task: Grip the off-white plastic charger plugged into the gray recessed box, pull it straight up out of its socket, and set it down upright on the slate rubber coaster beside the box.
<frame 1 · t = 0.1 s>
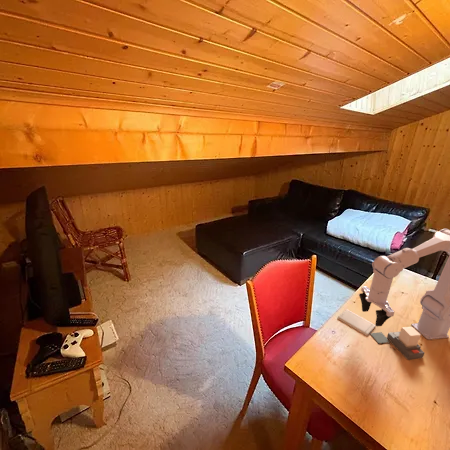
hand: (371, 318, 91), 10 cm above the table, fingers open, 7 cm apart
gray recessed box: (403, 347, 91), on the table
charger: (406, 343, 89), point 2 cm above the table, touching gray recessed box
hard drive: (355, 323, 103), on the table
coaster: (379, 338, 95), on the table
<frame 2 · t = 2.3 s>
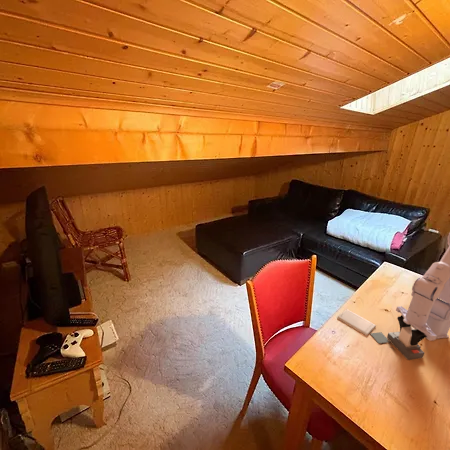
hand: (408, 339, 89), 4 cm above the table, fingers closed on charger, 4 cm apart
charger: (406, 343, 89), point 2 cm above the table, touching gripper, gray recessed box
everything else where it was.
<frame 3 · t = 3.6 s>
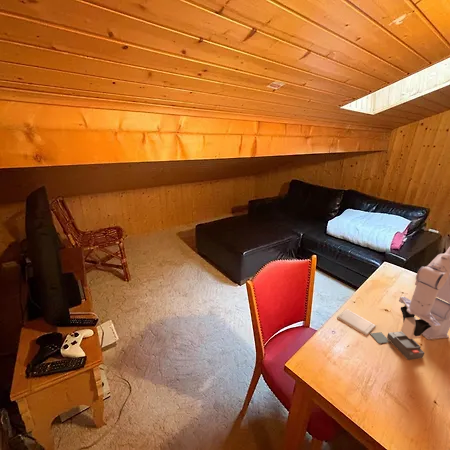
hand: (411, 330, 87), 9 cm above the table, fingers closed on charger, 4 cm apart
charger: (410, 334, 88), point 7 cm above the table, touching gripper
everything else where it was.
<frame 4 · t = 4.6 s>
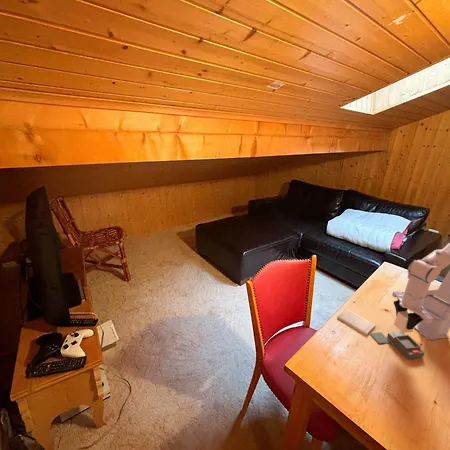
hand: (404, 323, 88), 10 cm above the table, fingers closed on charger, 4 cm apart
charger: (403, 328, 89), point 9 cm above the table, touching gripper
everything else where it was.
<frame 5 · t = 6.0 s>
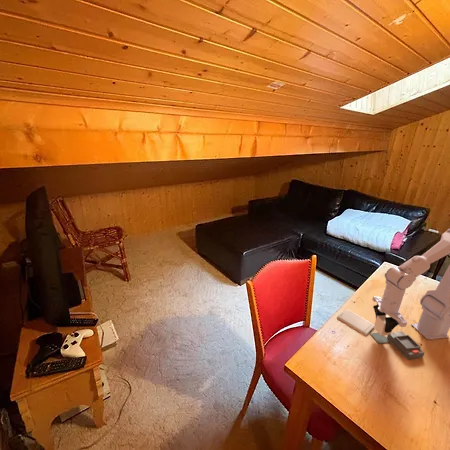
hand: (383, 327, 93), 6 cm above the table, fingers closed on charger, 4 cm apart
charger: (381, 331, 93), point 4 cm above the table, touching gripper
everything else where it was.
when the fingers open (3 cm above the table, at t = 7.3 s): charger stays where it is, resting on coaster.
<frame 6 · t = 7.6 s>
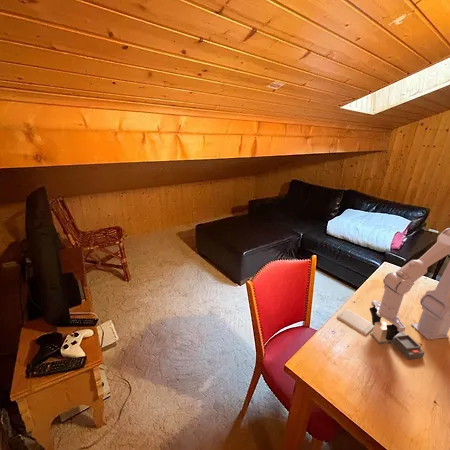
hand: (381, 331, 94), 3 cm above the table, fingers open, 7 cm apart
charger: (380, 337, 95), resting on coaster
everything else where it was.
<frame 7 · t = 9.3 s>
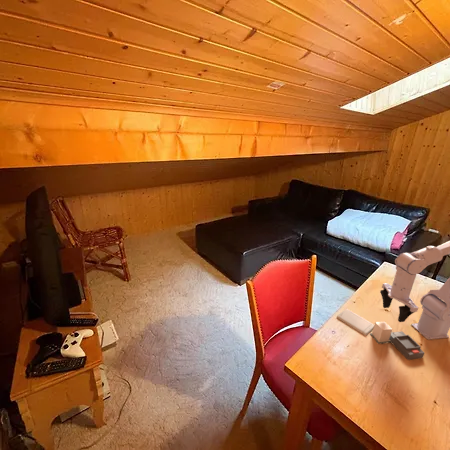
hand: (393, 314, 93), 10 cm above the table, fingers open, 7 cm apart
nothing on the table moved.
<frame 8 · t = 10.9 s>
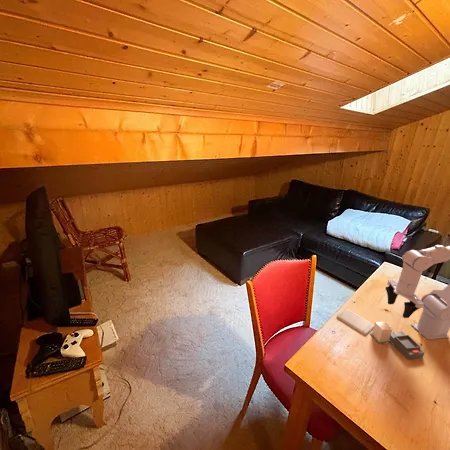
hand: (397, 310, 95), 10 cm above the table, fingers open, 7 cm apart
nothing on the table moved.
at the end: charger 0.0 cm off-centre on the coaster, point 0.4 cm above the coaster's base; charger tilted 0°; the gripper is holding nothing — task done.
